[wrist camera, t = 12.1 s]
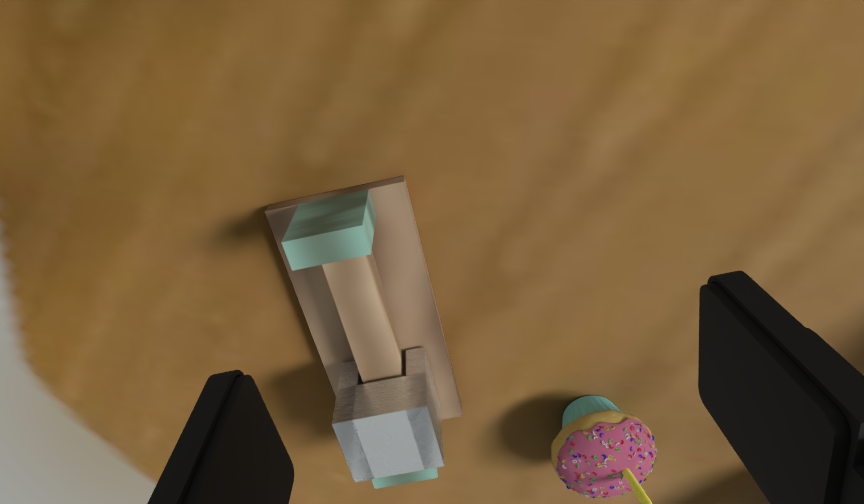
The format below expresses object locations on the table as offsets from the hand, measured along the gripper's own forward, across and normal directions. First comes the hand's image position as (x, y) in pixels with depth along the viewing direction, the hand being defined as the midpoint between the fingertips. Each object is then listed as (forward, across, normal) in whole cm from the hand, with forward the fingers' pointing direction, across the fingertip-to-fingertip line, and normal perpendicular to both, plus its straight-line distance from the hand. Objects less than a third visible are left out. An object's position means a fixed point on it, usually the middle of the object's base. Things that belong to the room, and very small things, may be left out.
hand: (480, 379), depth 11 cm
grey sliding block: (+27, +8, +22) cm, 35 cm away
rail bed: (+28, +8, +16) cm, 33 cm away
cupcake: (+28, -8, +31) cm, 43 cm away
